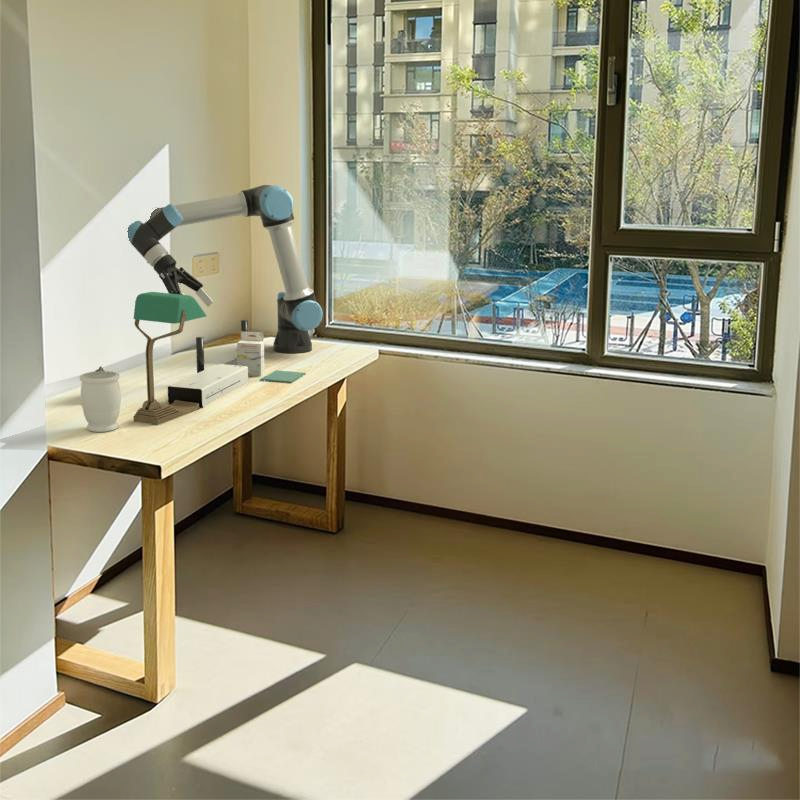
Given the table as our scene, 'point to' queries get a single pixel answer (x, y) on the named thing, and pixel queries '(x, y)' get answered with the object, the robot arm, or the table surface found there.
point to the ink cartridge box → (251, 353)
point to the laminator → (209, 384)
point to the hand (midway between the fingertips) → (202, 307)
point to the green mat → (283, 376)
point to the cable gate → (201, 349)
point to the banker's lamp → (166, 311)
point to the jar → (100, 400)
